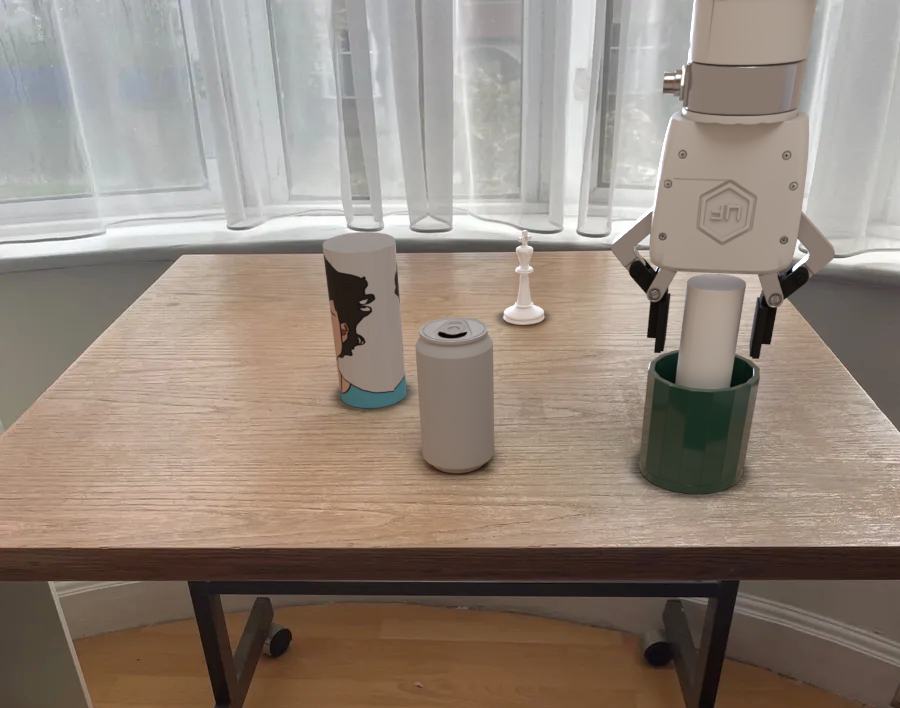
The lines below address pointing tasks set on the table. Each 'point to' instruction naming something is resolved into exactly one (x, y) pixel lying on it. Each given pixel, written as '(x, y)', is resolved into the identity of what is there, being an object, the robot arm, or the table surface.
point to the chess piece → (524, 289)
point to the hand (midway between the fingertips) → (706, 347)
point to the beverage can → (456, 393)
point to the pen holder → (696, 428)
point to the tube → (710, 331)
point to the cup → (366, 318)
